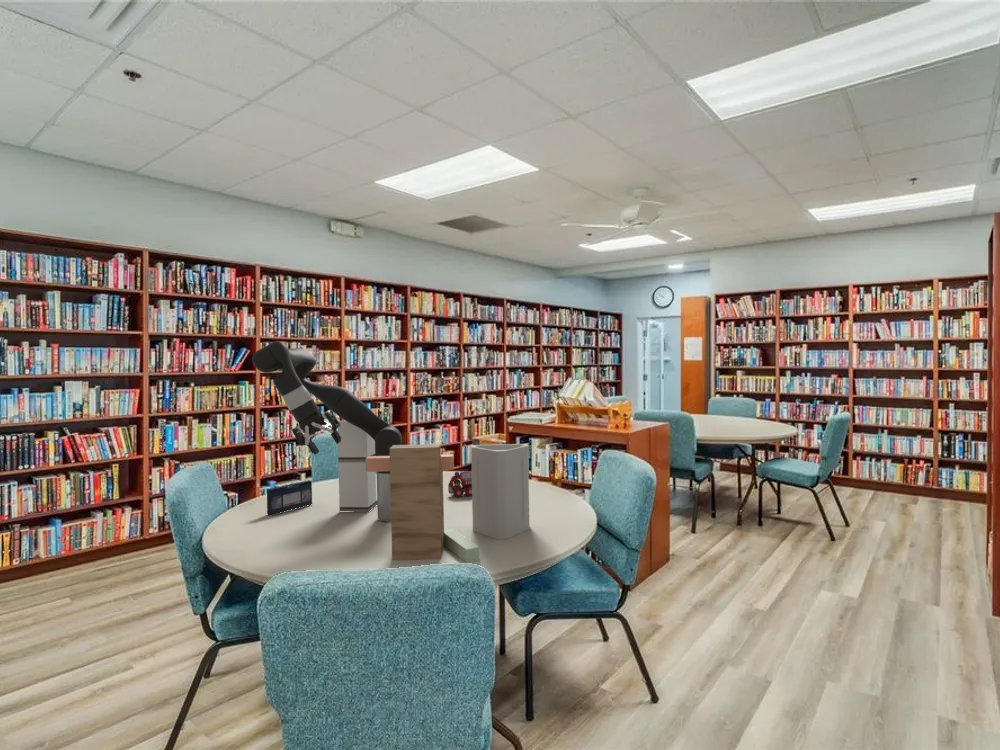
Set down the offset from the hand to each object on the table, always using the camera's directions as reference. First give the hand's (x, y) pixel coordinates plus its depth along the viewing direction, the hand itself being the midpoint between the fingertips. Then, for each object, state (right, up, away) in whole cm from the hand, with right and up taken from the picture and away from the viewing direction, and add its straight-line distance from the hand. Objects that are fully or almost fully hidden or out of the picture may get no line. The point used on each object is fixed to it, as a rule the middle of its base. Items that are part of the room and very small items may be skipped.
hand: (328, 447), depth 168 cm
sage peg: (+42, -30, -8) cm, 52 cm away
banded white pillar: (-2, -30, +43) cm, 52 cm away
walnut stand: (+30, -30, -8) cm, 43 cm away
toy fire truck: (+38, -29, +62) cm, 78 cm away
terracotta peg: (+27, -6, -5) cm, 28 cm away
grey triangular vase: (+54, -29, +10) cm, 62 cm away
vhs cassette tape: (-29, -31, +43) cm, 60 cm away
